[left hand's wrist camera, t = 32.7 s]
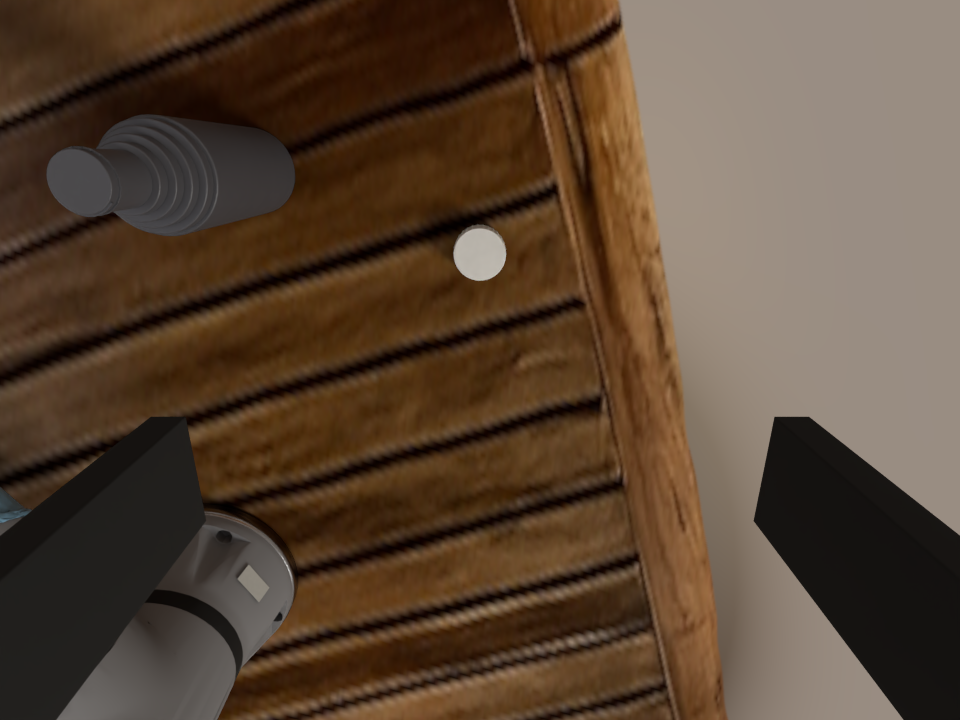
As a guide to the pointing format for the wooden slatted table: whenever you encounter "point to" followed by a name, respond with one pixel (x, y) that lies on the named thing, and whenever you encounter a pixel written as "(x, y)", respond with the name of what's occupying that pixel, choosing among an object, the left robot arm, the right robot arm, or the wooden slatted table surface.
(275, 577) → the left robot arm
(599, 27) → the wooden slatted table surface
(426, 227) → the wooden slatted table surface
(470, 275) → the cap
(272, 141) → the bottle
